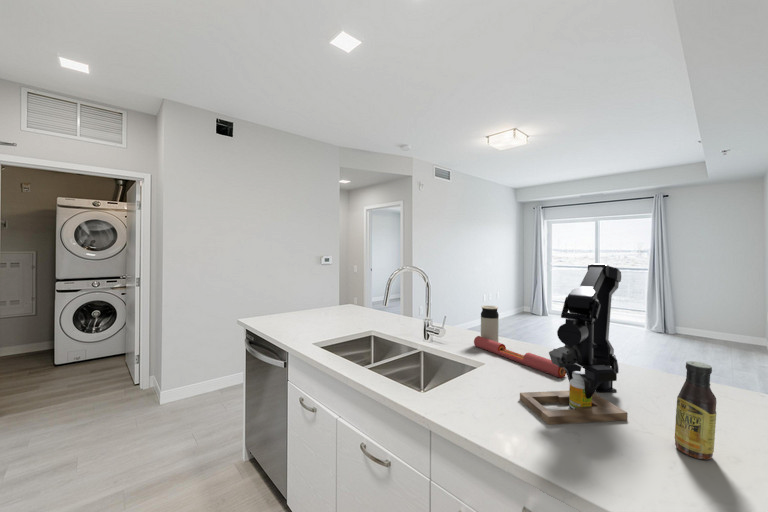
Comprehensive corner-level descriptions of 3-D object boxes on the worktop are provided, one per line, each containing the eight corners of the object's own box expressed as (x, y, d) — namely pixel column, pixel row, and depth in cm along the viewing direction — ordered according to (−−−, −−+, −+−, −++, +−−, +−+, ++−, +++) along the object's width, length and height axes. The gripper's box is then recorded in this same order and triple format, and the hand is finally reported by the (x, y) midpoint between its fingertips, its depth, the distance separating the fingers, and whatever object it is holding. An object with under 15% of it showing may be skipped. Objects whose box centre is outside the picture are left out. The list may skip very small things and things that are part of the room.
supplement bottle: (584, 414, 87) (584, 378, 87) (565, 405, 91) (565, 372, 91) (595, 409, 89) (596, 375, 89) (576, 401, 94) (576, 368, 94)
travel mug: (500, 347, 148) (501, 308, 148) (483, 347, 148) (483, 308, 148) (495, 342, 156) (495, 305, 156) (478, 342, 156) (478, 305, 156)
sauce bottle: (666, 444, 74) (668, 358, 73) (691, 443, 74) (693, 357, 74) (697, 463, 67) (698, 369, 67) (724, 462, 68) (726, 368, 67)
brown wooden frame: (588, 396, 98) (588, 389, 98) (627, 420, 84) (627, 412, 84) (519, 399, 96) (519, 392, 96) (548, 424, 82) (548, 416, 82)
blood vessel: (473, 347, 149) (473, 336, 149) (481, 345, 151) (481, 335, 151) (557, 379, 112) (557, 365, 111) (566, 377, 114) (567, 363, 114)
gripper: (535, 330, 98) (534, 381, 99) (577, 349, 80) (577, 411, 80) (569, 330, 100) (568, 379, 100) (618, 348, 81) (618, 409, 81)
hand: (580, 393), depth 90 cm, fingers closed on supplement bottle, 5 cm apart
